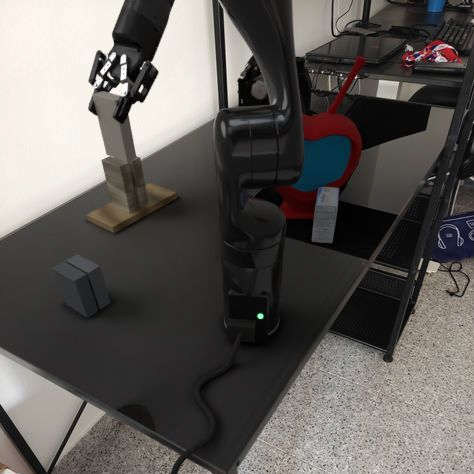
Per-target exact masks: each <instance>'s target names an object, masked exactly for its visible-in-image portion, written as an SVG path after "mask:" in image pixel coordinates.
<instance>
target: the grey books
mask: <svg viewBox="0 0 474 474" xmlns="http://www.w3.org/2000/svg"><path fill="white" fill-rule="evenodd" d="M51 269H52V272H53V274H54V276H55V279H56V282H57V284H58V287H59V289H60V292H61V294H62V297H63V299H64V302H65V305H66V306H68V307H69V308H70V309H72V310H74V311H75V312H77V313H79V314H81V315H82V316H84V317H85V318H86V319H88V318H90V317H92V316H93V315H95V314H97V313H98V312H99V311H100V310H103V308H105V307H107V306H109V305H110V304H111V303H112V302H111V300H110V296H109V293H108V288H107V285H106V282H105V280H104V279H105V278H104V276H103V272H102V269H101V266H100V265H99V264H97V263H95V262H94V261H91V260H90V259H88V258H86V257H84V256H83V255H80V254H79V253H77V254H75V255H73V256H71V257H70V258H68V259H66V260H65V261H62V262H59V264H57V265H55V266H53V267H52V268H51Z"/></svg>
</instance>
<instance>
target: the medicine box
mask: <svg viewBox="0 0 474 474" xmlns="http://www.w3.org/2000/svg"><path fill="white" fill-rule="evenodd" d="M339 199H340V188H333V187H319V189H318V195H317V201H316V206H315V213H314V219H313V225H312V233H311V234H312V235H311V242H312V243H318V244H319V243H320V244H331V245H332V244H333V242H334V237H335V230H336V224H337V223H336V222H337V218H338V217H337V216H338V209H339Z"/></svg>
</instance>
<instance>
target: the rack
mask: <svg viewBox="0 0 474 474" xmlns="http://www.w3.org/2000/svg"><path fill="white" fill-rule="evenodd" d="M136 157H137V158H136V159H133V160H131V161H129V162H125V161H122V160H120V159H117V158H114V157H111V156H109V155H108V156H107V157H104V158H102V159H100V160H101V161H100V162H101V164H102V165H101V166H102V169H103V174H104V177H105V181H106V186H107V190H108V193H109V198H110V202H108V203H107V204H105V205H103V206H101V207H99V208H97V209H94V210H93V211H91V212H89V213H87V214H86V218H87V221H88V222H89V223H92V224H94V225H96V226H98V227H100V228H102V229H104V230H106V231H109V232H111V233H112V234H116V233H117V232H119V231H121V230H122V229H125V228H126V227H128V226H130V225H131V224H133V223H135V222H137V221H139V220H140V219H143V218H145V217H146V216H148V215H149V214H151V213H154V212H155V211H157V210H158V209H160V208H163V207H164V206H165V205H167V204H169V203H171V202H173V201H176V199H178V193H177V191H174V190H172V189H169V188H166V187H163V186H161V185H158V184H156V183H152V182H149V183H147V184H146V181H145V175H144V170H143V165H142V160H141V157H140V156H137V155H136Z"/></svg>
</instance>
